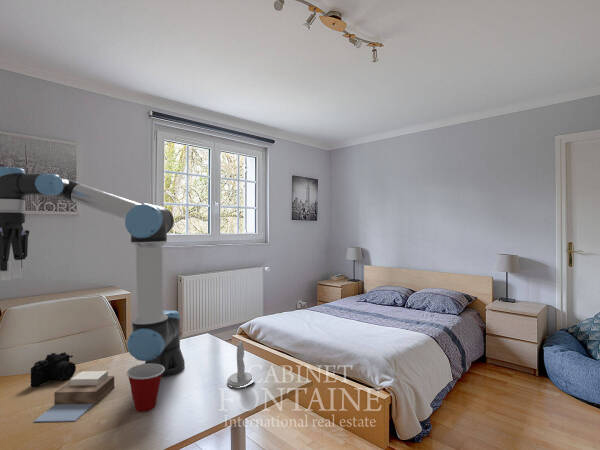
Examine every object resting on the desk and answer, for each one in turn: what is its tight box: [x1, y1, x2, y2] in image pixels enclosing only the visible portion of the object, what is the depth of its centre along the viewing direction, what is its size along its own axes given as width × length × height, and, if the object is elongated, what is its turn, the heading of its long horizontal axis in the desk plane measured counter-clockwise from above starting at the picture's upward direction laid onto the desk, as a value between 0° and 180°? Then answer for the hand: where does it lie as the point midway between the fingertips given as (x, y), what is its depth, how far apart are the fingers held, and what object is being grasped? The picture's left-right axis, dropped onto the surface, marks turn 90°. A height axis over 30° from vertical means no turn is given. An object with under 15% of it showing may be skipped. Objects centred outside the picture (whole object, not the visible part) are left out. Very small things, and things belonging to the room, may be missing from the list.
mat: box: [33, 403, 95, 423], centre depth 101 cm, size 12×9×1 cm
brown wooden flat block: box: [53, 375, 115, 405], centre depth 111 cm, size 13×11×4 cm
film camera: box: [30, 351, 77, 388], centre depth 124 cm, size 15×10×9 cm, turn 168°
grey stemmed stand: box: [226, 340, 253, 388], centre depth 121 cm, size 10×10×15 cm
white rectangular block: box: [69, 370, 109, 385], centre depth 113 cm, size 9×6×2 cm, turn 91°
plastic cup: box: [126, 363, 165, 413], centre depth 104 cm, size 11×11×12 cm
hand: (11, 279), depth 116 cm, fingers open, 4 cm apart
